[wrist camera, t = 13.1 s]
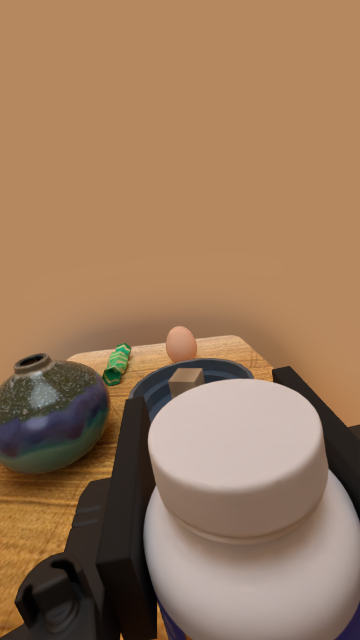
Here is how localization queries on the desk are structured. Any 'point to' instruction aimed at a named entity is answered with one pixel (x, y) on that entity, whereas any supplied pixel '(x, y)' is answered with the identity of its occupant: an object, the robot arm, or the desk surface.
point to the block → (185, 380)
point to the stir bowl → (157, 381)
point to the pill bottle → (249, 519)
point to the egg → (181, 345)
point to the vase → (50, 414)
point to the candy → (116, 364)
